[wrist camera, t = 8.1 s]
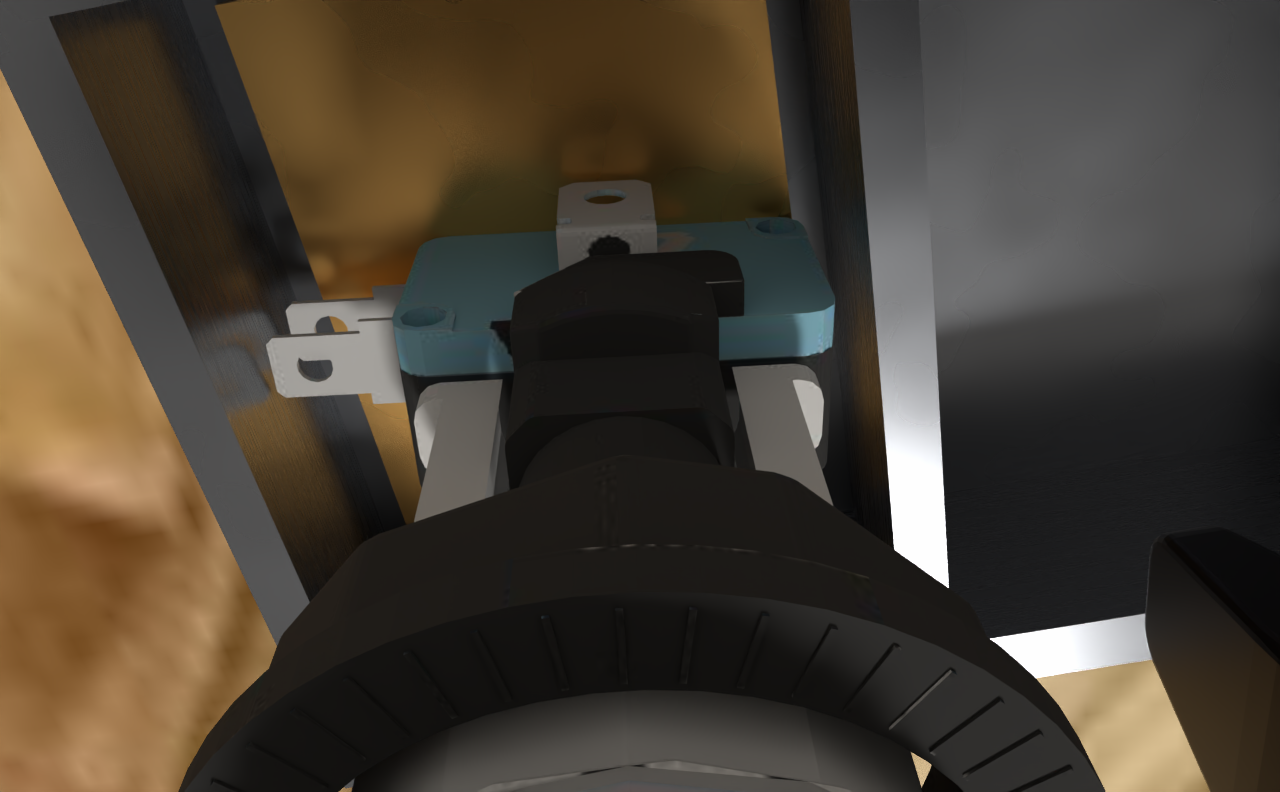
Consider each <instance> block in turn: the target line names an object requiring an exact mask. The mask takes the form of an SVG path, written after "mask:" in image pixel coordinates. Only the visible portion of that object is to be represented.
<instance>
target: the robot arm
mask: <svg viewBox="0 0 1280 792" xmlns="http://www.w3.org/2000/svg"><path fill="white" fill-rule="evenodd" d="M1145 635H1146V640H1147V645H1148V649H1149V652H1150V655H1151V658H1152V660H1153V663H1154V665H1155V668H1156V670H1157V672H1158V674H1159V677H1160V679H1161V681H1162V683H1163V686H1164V688H1165V690H1166V693H1167V695H1168V697H1169V699H1170V702H1171V704H1172V706H1173V708H1174V711H1175V713H1176V715H1177V718H1178V720H1179V722H1180V724H1181V727H1182V729H1183V731H1184V733H1185V736H1186V738H1187V740H1188V742H1189V745H1190V747H1191V749H1192V752H1193V754H1194V756H1195V758H1196V761H1197V763H1198V765H1199V767H1200V770H1201V772H1202V774H1203V777H1204V779H1205V781H1206V783H1207V786H1208V788H1209V790H1210V792H1280V554H1278V553H1276V552H1274V551H1272V550H1270V549H1268V548H1266V547H1264V546H1262V545H1260V544H1258V543H1256V542H1254V541H1252V540H1250V539H1248V538H1246V537H1244V536H1242V535H1240V534H1238V533H1236V532H1234V531H1232V530H1229V529H1227V528H1224V527H1221V526H1217V525H1208V526H1202V527H1196V528H1190V529H1184V530H1178V531H1172V532H1166V533H1163V534H1161V535H1159V536H1158V537H1157V538H1156V539H1155V540H1154V541H1153V544H1152V546H1151V550H1150V555H1149V569H1148V583H1147V597H1146V611H1145Z"/></svg>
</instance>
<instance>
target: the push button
mask: <svg viewBox="0 0 1280 792" xmlns="http://www.w3.org/2000/svg"><path fill="white" fill-rule="evenodd" d="M604 195H614V196H619V197H622V198H625V199H624V200H622V201H619V202H616V203H610V204H595V203H590V202H587V201H586V200H588V199H590V198H593V197H597V196H604ZM557 224H558V225H556V231H540V232H521V233H502V234H483V235H464V236H448V237H441V238H435V239H432V240H430V241H427V242H425V243H423V244H422V245H421V246H420V247H419V249H418V252H417V254H416V257H415V260H414V263H413V265H412V268H411V271H410V274H409V276H408V279H407V282H406V284H399V285H380V286H373V287H372V293H373V297H368V298H349V299H330V300H311V301H293V302H292V303H291V304H290V305H289V306H288V308H287V309H286V315H287V319H288V324H289V328H290V332H291V334H289V335H273V336H272V338H271V339H270V340H269V341H268V342H267V344H266V347H267V352H268V356H269V360H270V364H271V368H272V372H273V376H274V380H275V385H276V389H277V392H278V393H280V394H281V395H283V396H284V397H286V398H290V397H308V396H327V395H345V394H364V393H371V395H372V400H373V404H384V403H402V402H406V407H407V413H408V418H409V424H410V430H411V436H412V441H413V447H414V453H415V459H416V465H417V470H418V476H419V482H420V485H421V487H422V490H421V494H420V499H419V503H418V507H417V511H416V515H415V520H414V522H413V523H410V524H407V525H404V526H401V527H398V528H395V529H392V530H389V531H386V532H383V533H380V534H378V535H376V536H374V537H372V538H370V539H368V540H367V541H365V542H363V543H362V544H361V545H360V546H359V547H357V549H356V550H355V551H354V552H353V553H352V554H351V556H350V557H349V558H348V559H347V560H346V561H345V562H344V564H343V565H342V566H341V567H340V568H339V569H338V571H337V572H336V573H335V574H334V575H333V576H332V577H331V579H330V580H329V581H328V582H327V583H326V584H325V586H324V587H323V588H322V589H321V590H320V591H319V593H318V594H317V595H316V596H315V597H314V598H313V599H312V601H311V602H310V603H309V604H308V605H307V606H306V608H305V609H304V610H303V611H302V612H301V613H300V614H299V616H298V617H297V618H296V619H295V620H294V621H293V623H292V624H291V625H290V626H289V627H288V628H287V630H286V631H285V632H284V633H283V635H282V637H281V638H280V640H279V643H278V645H277V648H276V651H275V654H274V656H273V659H272V662H271V665H270V667H269V669H268V670H267V671H266V672H265V673H263V674H262V675H261V676H260V677H259V678H258V679H257V680H256V681H255V682H254V683H253V684H252V685H251V686H250V687H249V688H248V689H247V690H246V691H245V692H244V693H243V694H242V695H241V696H240V697H239V698H238V699H236V700H235V701H234V702H233V704H232V705H231V706H230V707H229V709H228V710H227V711H226V712H225V714H224V715H223V716H222V717H221V719H220V720H219V721H218V722H217V724H216V725H215V726H214V728H213V729H212V730H211V731H210V733H209V734H208V735H207V737H206V738H205V740H204V742H203V744H202V745H201V747H200V749H199V750H198V752H197V754H196V756H195V757H194V759H193V761H192V763H191V764H190V766H189V768H188V770H187V772H186V774H185V777H184V779H183V782H182V784H181V787H180V789H179V792H338V791H340V790H341V789H342V788H343V787H345V786H346V785H347V784H348V783H349V782H351V781H352V780H353V779H354V778H355V779H354V783H353V788H352V792H1105V789H1104V787H1103V785H1102V783H1101V781H1100V779H1099V777H1098V775H1097V773H1096V771H1095V769H1094V767H1093V765H1092V763H1091V761H1090V759H1089V757H1088V755H1087V753H1086V751H1085V749H1084V747H1083V745H1082V743H1081V741H1080V739H1079V737H1078V736H1077V734H1076V732H1075V731H1074V729H1073V728H1072V726H1071V724H1070V723H1069V721H1068V720H1067V718H1066V716H1065V715H1064V713H1063V711H1062V710H1061V708H1060V707H1059V705H1058V704H1057V703H1056V702H1055V700H1054V699H1053V698H1052V697H1051V696H1050V695H1049V693H1048V692H1047V691H1046V690H1045V689H1044V687H1043V686H1042V685H1041V684H1040V683H1039V682H1038V680H1037V679H1036V678H1035V677H1034V676H1033V675H1032V674H1031V673H1030V672H1029V671H1028V670H1027V669H1026V668H1024V667H1023V666H1022V665H1021V664H1020V663H1019V662H1018V661H1017V660H1015V659H1014V658H1013V657H1012V656H1011V655H1010V654H1009V653H1008V652H1006V651H1005V650H1004V649H1003V648H1002V647H1001V646H999V645H998V644H996V643H995V642H994V641H992V640H991V639H989V638H988V637H987V636H986V634H985V631H984V629H983V627H982V625H981V623H980V620H979V618H978V616H977V614H976V612H975V611H974V609H973V608H972V607H971V605H970V604H969V603H968V602H967V601H966V600H965V599H963V598H962V597H961V596H959V595H958V594H956V593H955V592H954V591H952V590H951V589H949V588H948V587H947V586H945V585H944V584H942V583H941V582H940V581H938V580H937V579H935V578H934V577H932V576H931V575H930V574H928V573H927V572H925V571H924V570H923V569H921V568H920V567H918V566H917V565H916V564H914V563H913V562H911V561H910V560H908V559H907V558H906V557H904V556H903V555H901V554H900V553H899V552H897V551H896V550H894V549H893V548H892V547H890V546H889V545H887V544H886V543H885V542H883V541H882V540H880V539H879V538H877V537H876V536H875V535H873V534H872V533H870V532H869V531H868V530H866V529H865V528H863V527H862V526H861V525H859V524H858V523H856V522H855V521H853V520H852V519H851V518H849V517H848V516H846V515H845V514H844V513H842V512H841V511H839V510H838V509H837V508H835V507H834V506H833V503H832V500H831V497H830V494H829V491H828V488H827V485H826V482H825V478H824V475H823V472H822V469H823V468H824V467H825V465H826V462H827V450H828V429H829V411H830V393H831V375H832V357H833V329H834V311H835V296H834V294H833V291H832V289H831V287H830V285H829V283H828V281H827V278H826V276H825V274H824V272H823V270H822V267H821V265H820V263H819V261H818V259H817V257H816V254H815V252H814V250H813V248H812V246H811V244H810V241H809V239H808V234H807V232H806V230H805V228H804V225H802V224H801V223H800V222H799V221H798V220H794V219H790V218H786V217H759V218H745V221H731V222H712V223H693V224H674V225H656V220H655V211H654V203H653V196H652V189H651V183H647V182H643V181H640V180H618V181H599V182H580V183H572V184H569V185H566V186H564V187H561V188H559V196H558V209H557ZM326 316H332V317H337V318H338V319H340V320H342V321H343V322H344V323H345V325H346V326H347V328H348V331H345V332H327V333H317V331H316V323H317V321H318V320H319V319H320V318H322V317H326ZM299 358H300V359H302V360H303V361H314V360H331V362H332V366H333V371H332V373H331V374H330V375H329V376H328V377H326V378H322V379H316V378H311V377H309V376H307V375H305V374H304V373H303V371H302V370H301V369H300V367H299V363H298V359H299ZM910 751H911V752H912V753H914V754H916V755H917V756H919V757H921V758H922V759H924V760H926V761H928V762H929V763H930V764H931V765H932V766H931V769H930V771H929V773H928V776H927V778H926V780H925V782H924V784H923V786H922V788H921V785H920V781H919V778H918V775H917V771H916V768H915V765H914V761H913V758H912V755H911V752H910Z"/></svg>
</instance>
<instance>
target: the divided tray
mask: <svg viewBox="0 0 1280 792" xmlns="http://www.w3.org/2000/svg"><path fill="white" fill-rule="evenodd" d="M0 69H1V71H2V73H3V75H4V77H5V79H6V81H7V83H8V86H9V88H10V90H11V92H12V94H13V96H14V98H15V100H16V102H17V104H18V106H19V108H20V111H21V113H22V115H23V117H24V119H25V121H26V123H27V125H28V127H29V129H30V131H31V134H32V136H33V138H34V140H35V142H36V144H37V146H38V148H39V150H40V152H41V154H42V156H43V159H44V161H45V163H46V165H47V167H48V169H49V171H50V173H51V175H52V177H53V179H54V182H55V184H56V186H57V188H58V190H59V192H60V194H61V196H62V198H63V200H64V202H65V204H66V207H67V209H68V211H69V213H70V215H71V217H72V219H73V221H74V223H75V225H76V227H77V230H78V232H79V234H80V236H81V238H82V240H83V242H84V244H85V246H86V248H87V250H88V252H89V255H90V257H91V259H92V261H93V263H94V265H95V267H96V269H97V271H98V273H99V275H100V277H101V280H102V282H103V284H104V286H105V288H106V290H107V292H108V294H109V296H110V298H111V300H112V303H113V305H114V307H115V309H116V311H117V313H118V315H119V317H120V319H121V321H122V323H123V325H124V328H125V330H126V332H127V334H128V336H129V338H130V340H131V342H132V344H133V346H134V348H135V351H136V353H137V355H138V357H139V359H140V361H141V363H142V365H143V367H144V369H145V371H146V373H147V376H148V378H149V380H150V382H151V384H152V386H153V388H154V390H155V392H156V394H157V396H158V399H159V401H160V403H161V405H162V407H163V409H164V411H165V413H166V415H167V417H168V419H169V421H170V424H171V426H172V428H173V430H174V432H175V434H176V436H177V438H178V440H179V442H180V444H181V447H182V449H183V451H184V453H185V455H186V457H187V459H188V461H189V463H190V465H191V467H192V469H193V472H194V474H195V476H196V478H197V480H198V482H199V484H200V486H201V488H202V490H203V492H204V495H205V497H206V499H207V501H208V503H209V505H210V507H211V509H212V511H213V513H214V515H215V517H216V520H217V522H218V524H219V526H220V528H221V530H222V532H223V534H224V536H225V538H226V540H227V543H228V545H229V547H230V549H231V551H232V553H233V555H234V557H235V559H236V561H237V563H238V565H239V568H240V570H241V572H242V574H243V576H244V578H245V580H246V582H247V584H248V586H249V588H250V590H251V593H252V595H253V597H254V599H255V601H256V603H257V605H258V607H259V609H260V611H261V613H262V616H263V618H264V620H265V622H266V624H267V626H268V628H269V630H270V632H271V634H272V636H273V638H274V641H275V643H276V645H278V643H279V640H280V638H281V637H282V635H283V633H284V632H285V631H286V630H287V628H288V627H289V626H290V625H291V624H292V623H293V621H294V620H295V619H296V618H297V617H298V616H299V614H300V613H301V612H302V611H303V610H304V609H305V608H306V606H307V605H308V604H309V603H310V602H311V601H312V599H313V598H314V597H315V596H316V595H317V594H318V593H319V591H320V590H321V589H322V588H323V587H324V586H325V584H326V583H327V582H328V581H329V580H330V579H331V577H332V576H333V575H334V574H335V573H336V572H337V571H338V569H339V568H340V567H341V566H342V565H343V564H344V562H345V561H346V560H347V559H348V558H349V557H350V556H351V554H352V553H353V552H354V551H355V550H356V549H357V547H359V546H360V545H361V544H362V543H363V542H365V541H367V540H368V539H370V538H372V537H374V536H376V535H378V534H380V533H383V532H386V531H389V530H392V529H395V528H398V527H401V526H404V525H407V524H410V523H413V522H414V520H415V515H416V511H417V507H418V503H419V499H420V494H421V490H422V487H421V485H420V482H419V476H418V470H417V465H416V459H415V453H414V447H413V441H412V436H411V430H410V424H409V418H408V413H407V407H406V402H402V403H384V404H373V400H372V395H371V393H364V394H345V395H327V396H308V397H290V398H286V397H284V396H283V395H281V394H280V393H278V392H277V389H276V385H275V380H274V376H273V372H272V368H271V364H270V360H269V356H268V352H267V347H266V344H267V342H268V341H269V340H270V339H271V338H272V336H273V335H289V334H291V332H290V328H289V324H288V319H287V315H286V309H287V308H288V306H289V305H290V304H291V303H292V302H293V301H311V300H330V299H349V298H368V297H373V293H372V287H373V286H380V285H399V284H406V282H407V279H408V276H409V274H410V271H411V268H412V265H413V263H414V260H415V257H416V254H417V252H418V249H419V247H420V246H421V245H422V244H423V243H425V242H427V241H430V240H432V239H435V238H441V237H448V236H464V235H483V234H502V233H521V232H540V231H556V225H558V224H557V209H558V196H559V188H561V187H564V186H566V185H569V184H572V183H580V182H599V181H618V180H640V181H643V182H647V183H651V189H652V196H653V203H654V211H655V220H656V225H674V224H693V223H712V222H731V221H745V218H759V217H786V218H790V219H794V220H798V221H799V222H800V223H801V224H802V225H804V228H805V230H806V232H807V234H808V239H809V241H810V244H811V246H812V248H813V250H814V252H815V254H816V257H817V259H818V261H819V263H820V265H821V267H822V270H823V272H824V274H825V276H826V278H827V281H828V283H829V285H830V287H831V289H832V291H833V294H834V296H835V311H834V329H833V357H832V375H831V393H830V411H829V429H828V450H827V462H826V465H825V467H824V468H823V469H822V472H823V475H824V478H825V482H826V485H827V488H828V491H829V494H830V497H831V500H832V503H833V506H834V507H835V508H837V509H838V510H839V511H841V512H842V513H844V514H845V515H846V516H848V517H849V518H851V519H852V520H853V521H855V522H856V523H858V524H859V525H861V526H862V527H863V528H865V529H866V530H868V531H869V532H870V533H872V534H873V535H875V536H876V537H877V538H879V539H880V540H882V541H883V542H885V543H886V544H887V545H889V546H890V547H892V548H893V549H894V550H896V551H897V552H899V553H900V554H901V555H903V556H904V557H906V558H907V559H908V560H910V561H911V562H913V563H914V564H916V565H917V566H918V567H920V568H921V569H923V570H924V571H925V572H927V573H928V574H930V575H931V576H932V577H934V578H935V579H937V580H938V581H940V582H941V583H942V584H944V585H945V586H947V587H948V588H949V589H951V590H952V591H954V592H955V593H956V594H958V595H959V596H961V597H962V598H963V599H965V600H966V601H967V602H968V603H969V604H970V605H971V607H972V608H973V609H974V611H975V612H976V614H977V616H978V618H979V620H980V623H981V625H982V627H983V629H984V631H985V634H986V636H987V637H988V638H989V639H991V640H992V641H994V642H995V643H996V644H998V645H999V646H1001V647H1002V648H1003V649H1004V650H1005V651H1006V652H1008V653H1009V654H1010V655H1011V656H1012V657H1013V658H1014V659H1015V660H1017V661H1018V662H1019V663H1020V664H1021V665H1022V666H1023V667H1024V668H1026V669H1027V670H1028V671H1029V672H1030V673H1031V674H1032V675H1033V676H1034V677H1035V678H1039V677H1045V676H1052V675H1058V674H1064V673H1071V672H1077V671H1083V670H1089V669H1096V668H1102V667H1108V666H1114V665H1121V664H1127V663H1133V662H1139V661H1146V660H1152V658H1151V655H1150V652H1149V649H1148V645H1147V640H1146V635H1145V611H1146V597H1147V583H1148V569H1149V555H1150V550H1151V546H1152V544H1153V541H1154V540H1155V539H1156V538H1157V537H1158V536H1159V535H1161V534H1163V533H1166V532H1172V531H1178V530H1184V529H1190V528H1196V527H1202V526H1208V525H1217V526H1221V527H1224V528H1227V529H1229V530H1232V531H1234V532H1236V533H1238V534H1240V535H1242V536H1244V537H1246V538H1248V539H1250V540H1252V541H1254V542H1256V543H1258V544H1260V545H1262V546H1264V547H1266V548H1268V549H1270V550H1272V551H1274V552H1276V553H1278V554H1280V0H0ZM624 199H625V198H622V197H619V196H614V195H604V196H597V197H593V198H590V199H588V200H586V201H587V202H590V203H595V204H610V203H616V202H619V201H622V200H624ZM316 331H317V333H327V332H345V331H348V328H347V326H346V325H345V323H344V322H343V321H342V320H340V319H338V318H337V317H332V316H326V317H322V318H320V319H319V320H318V321H317V323H316ZM298 363H299V367H300V369H301V370H302V371H303V373H304V374H305V375H307V376H309V377H311V378H316V379H322V378H326V377H328V376H329V375H330V374H331V373H332V371H333V366H332V362H331V360H314V361H303V360H302V359H300V358H299V359H298ZM354 779H355V778H354ZM354 779H353V780H352V781H351V782H349V783H348V784H347V785H346V786H345V788H350V787H353V783H354Z"/></svg>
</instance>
